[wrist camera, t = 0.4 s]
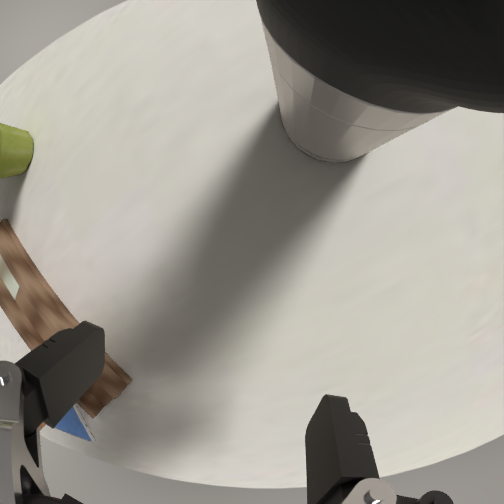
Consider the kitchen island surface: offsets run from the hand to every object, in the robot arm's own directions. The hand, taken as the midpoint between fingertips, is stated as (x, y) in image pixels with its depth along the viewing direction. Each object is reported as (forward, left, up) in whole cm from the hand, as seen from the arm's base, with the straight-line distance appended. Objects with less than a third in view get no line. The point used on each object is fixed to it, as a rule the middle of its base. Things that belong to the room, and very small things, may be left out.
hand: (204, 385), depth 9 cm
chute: (+19, -26, -19) cm, 37 cm away
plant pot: (-2, -36, -19) cm, 40 cm away
